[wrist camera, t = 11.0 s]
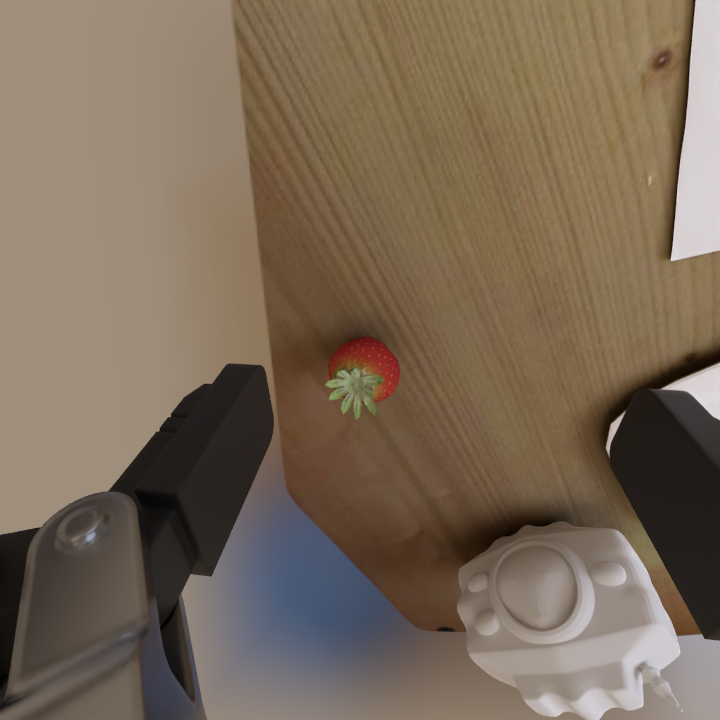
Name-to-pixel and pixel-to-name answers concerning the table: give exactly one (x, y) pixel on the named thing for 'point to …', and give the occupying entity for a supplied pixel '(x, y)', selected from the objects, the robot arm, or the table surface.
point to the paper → (701, 142)
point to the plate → (707, 385)
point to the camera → (567, 620)
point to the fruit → (362, 374)
